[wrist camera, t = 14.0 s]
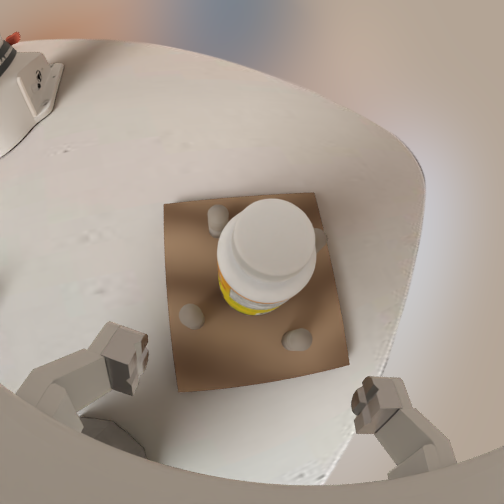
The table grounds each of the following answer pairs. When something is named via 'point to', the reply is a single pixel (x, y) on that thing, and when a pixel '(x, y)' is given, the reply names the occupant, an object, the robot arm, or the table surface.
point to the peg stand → (237, 324)
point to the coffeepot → (111, 435)
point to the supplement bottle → (265, 256)
